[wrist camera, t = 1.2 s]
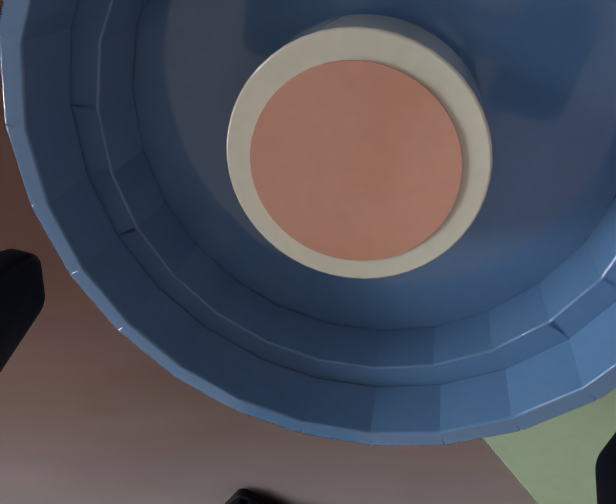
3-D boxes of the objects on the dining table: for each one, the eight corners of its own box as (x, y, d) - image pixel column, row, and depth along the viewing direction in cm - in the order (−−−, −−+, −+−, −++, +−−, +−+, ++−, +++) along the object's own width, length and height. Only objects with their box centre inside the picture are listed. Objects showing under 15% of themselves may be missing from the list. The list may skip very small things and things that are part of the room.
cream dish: (395, 271, 18) (388, 320, 16) (218, 163, 17) (186, 198, 15) (541, 102, 14) (558, 135, 12) (324, -46, 14) (301, -37, 11)
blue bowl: (429, 415, 22) (426, 518, 18) (46, 191, 20) (-45, 255, 16) (882, 30, 12) (1067, 82, 9) (236, -461, 11) (123, -659, 7)
